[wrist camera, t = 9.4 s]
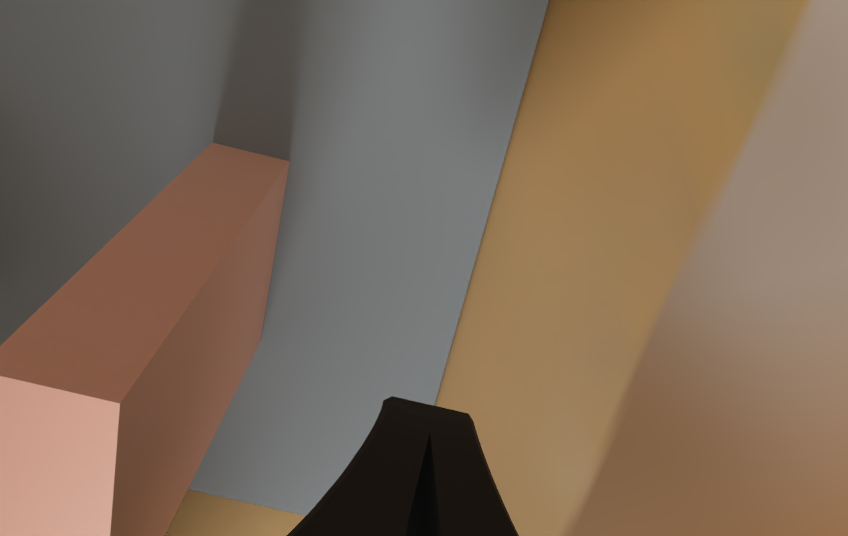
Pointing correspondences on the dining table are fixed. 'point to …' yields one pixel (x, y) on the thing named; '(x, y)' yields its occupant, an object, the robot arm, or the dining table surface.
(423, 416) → the robot arm
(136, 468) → the tile
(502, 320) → the dining table surface
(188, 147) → the mat
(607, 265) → the dining table surface
